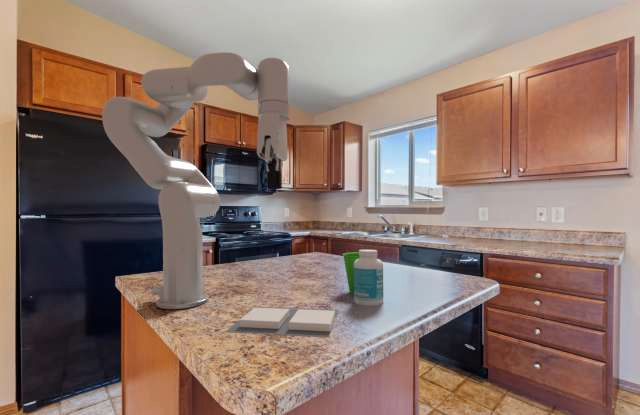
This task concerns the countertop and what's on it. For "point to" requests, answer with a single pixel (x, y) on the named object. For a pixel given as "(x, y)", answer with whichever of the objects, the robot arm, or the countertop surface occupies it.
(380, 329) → the countertop surface
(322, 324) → the tile
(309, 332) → the mat
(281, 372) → the countertop surface
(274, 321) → the tile
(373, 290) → the pill bottle
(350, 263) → the cup
